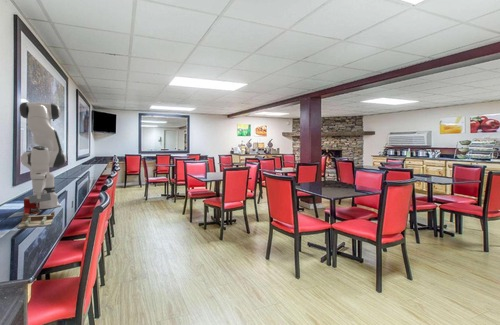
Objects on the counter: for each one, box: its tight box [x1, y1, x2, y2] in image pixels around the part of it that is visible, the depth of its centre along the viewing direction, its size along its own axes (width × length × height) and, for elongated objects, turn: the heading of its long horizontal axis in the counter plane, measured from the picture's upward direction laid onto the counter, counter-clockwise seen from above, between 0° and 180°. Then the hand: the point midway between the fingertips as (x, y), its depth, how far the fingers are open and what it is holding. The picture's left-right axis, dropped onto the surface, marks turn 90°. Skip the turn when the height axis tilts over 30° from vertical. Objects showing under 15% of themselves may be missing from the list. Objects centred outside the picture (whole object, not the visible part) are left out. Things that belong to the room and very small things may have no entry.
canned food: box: [23, 196, 41, 215], centre depth 171 cm, size 8×8×11 cm
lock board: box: [17, 210, 56, 230], centre depth 156 cm, size 24×14×4 cm, turn 31°
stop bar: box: [28, 193, 52, 203], centre depth 161 cm, size 10×3×4 cm, turn 120°
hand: (39, 197), depth 161 cm, fingers closed on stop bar, 3 cm apart
